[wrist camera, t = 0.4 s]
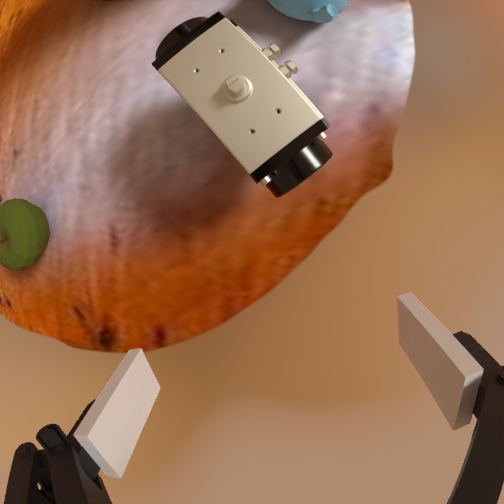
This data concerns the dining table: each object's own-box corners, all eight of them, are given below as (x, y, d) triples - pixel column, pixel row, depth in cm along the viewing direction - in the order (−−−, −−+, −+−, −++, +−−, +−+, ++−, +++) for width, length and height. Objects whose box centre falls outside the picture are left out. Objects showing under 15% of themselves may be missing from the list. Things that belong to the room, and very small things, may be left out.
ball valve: (323, 150, 38) (366, 138, 21) (272, 190, 40) (275, 209, 22) (233, 49, 35) (212, -21, 18) (183, 88, 36) (129, 42, 19)
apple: (36, 180, 40) (-6, 187, 31) (72, 226, 42) (32, 241, 32) (11, 227, 43) (-28, 241, 33) (44, 270, 44) (7, 291, 35)
